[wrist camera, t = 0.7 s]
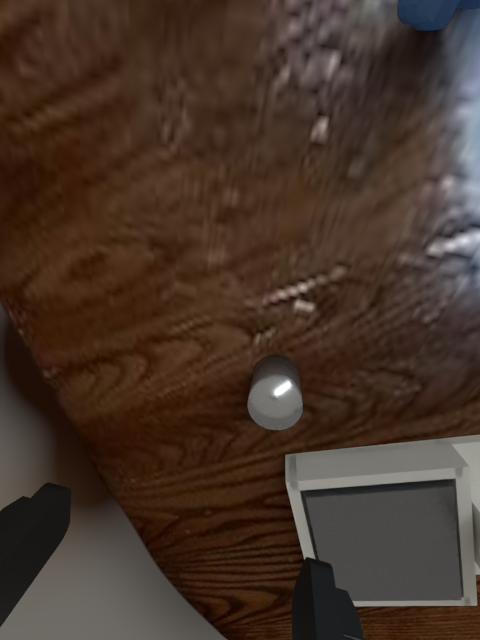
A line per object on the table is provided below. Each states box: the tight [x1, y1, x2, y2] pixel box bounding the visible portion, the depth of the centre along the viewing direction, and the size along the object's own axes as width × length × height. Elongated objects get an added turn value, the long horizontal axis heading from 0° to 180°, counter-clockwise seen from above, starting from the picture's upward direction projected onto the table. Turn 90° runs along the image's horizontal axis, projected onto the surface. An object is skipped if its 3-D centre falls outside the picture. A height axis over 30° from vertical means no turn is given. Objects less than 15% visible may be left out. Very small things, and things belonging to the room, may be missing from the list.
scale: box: [285, 435, 480, 606], centre depth 29 cm, size 22×18×12 cm
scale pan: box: [305, 479, 462, 601], centre depth 31 cm, size 14×15×1 cm
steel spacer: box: [248, 355, 303, 430], centre depth 29 cm, size 5×5×6 cm
